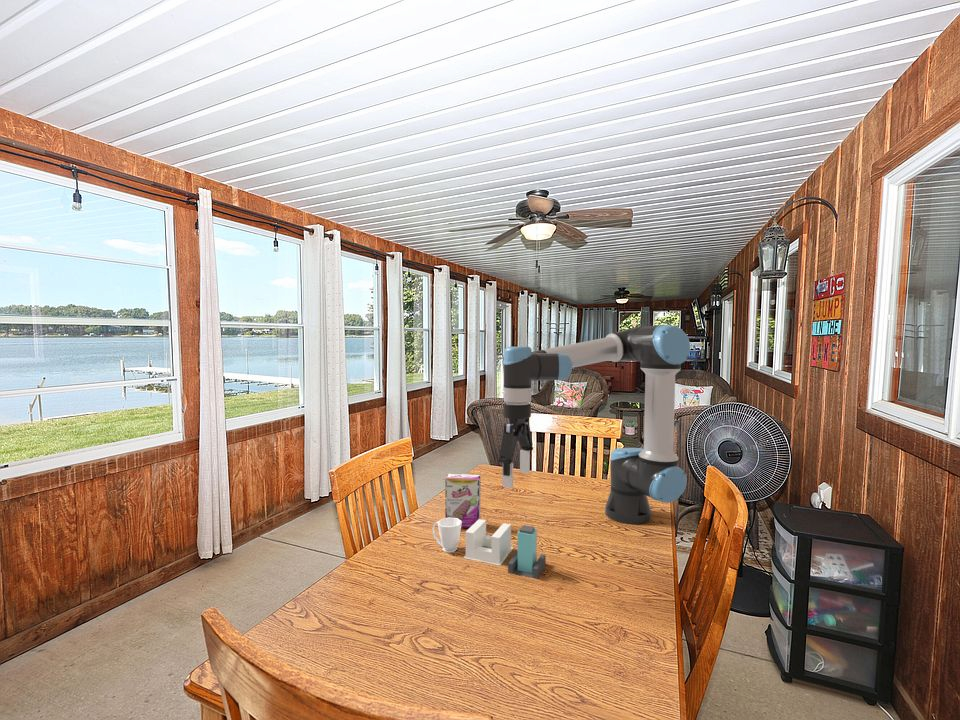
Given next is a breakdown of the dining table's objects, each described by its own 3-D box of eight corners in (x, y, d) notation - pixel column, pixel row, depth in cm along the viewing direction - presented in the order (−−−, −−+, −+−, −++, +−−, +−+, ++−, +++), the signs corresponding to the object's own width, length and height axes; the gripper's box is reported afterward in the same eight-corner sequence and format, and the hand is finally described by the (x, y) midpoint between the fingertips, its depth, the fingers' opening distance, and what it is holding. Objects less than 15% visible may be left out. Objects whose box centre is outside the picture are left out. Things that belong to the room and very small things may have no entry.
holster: (545, 565, 117) (545, 555, 117) (537, 581, 110) (537, 569, 110) (517, 560, 120) (517, 549, 120) (507, 574, 113) (507, 563, 113)
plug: (536, 565, 116) (536, 526, 116) (532, 573, 113) (532, 532, 112) (522, 562, 118) (522, 524, 117) (517, 570, 114) (517, 530, 114)
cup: (451, 557, 122) (451, 529, 122) (425, 547, 128) (424, 520, 128) (467, 547, 128) (466, 520, 127) (441, 538, 134) (440, 512, 133)
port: (513, 549, 127) (513, 523, 126) (500, 567, 117) (500, 539, 116) (478, 542, 131) (478, 517, 131) (462, 559, 121) (462, 532, 121)
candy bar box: (445, 528, 141) (444, 477, 141) (447, 521, 146) (447, 473, 146) (479, 529, 140) (479, 478, 140) (481, 522, 145) (480, 474, 145)
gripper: (519, 397, 133) (519, 466, 133) (486, 408, 110) (485, 491, 111) (543, 398, 129) (543, 469, 130) (514, 410, 107) (513, 496, 108)
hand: (516, 479), depth 121 cm, fingers open, 13 cm apart
